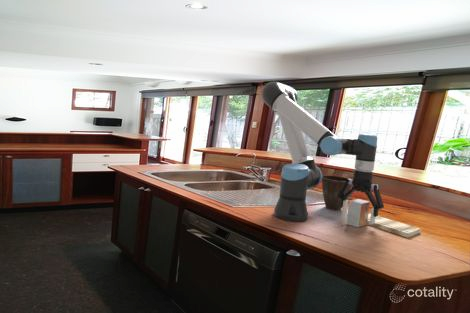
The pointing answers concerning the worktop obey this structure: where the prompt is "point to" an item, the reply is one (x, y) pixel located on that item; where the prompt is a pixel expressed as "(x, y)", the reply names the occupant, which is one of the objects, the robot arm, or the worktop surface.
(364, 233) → the worktop surface
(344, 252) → the worktop surface
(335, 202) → the plant pot
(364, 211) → the small box
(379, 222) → the board
